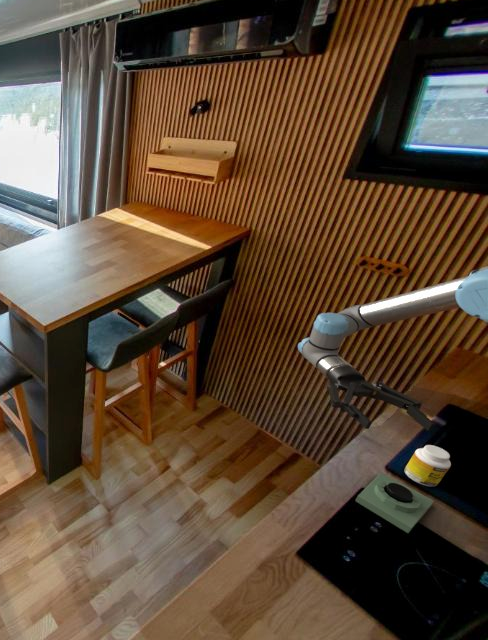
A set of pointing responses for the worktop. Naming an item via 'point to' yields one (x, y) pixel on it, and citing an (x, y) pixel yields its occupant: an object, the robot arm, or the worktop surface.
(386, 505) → the button box
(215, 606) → the worktop surface
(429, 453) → the supplement bottle
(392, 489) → the button
